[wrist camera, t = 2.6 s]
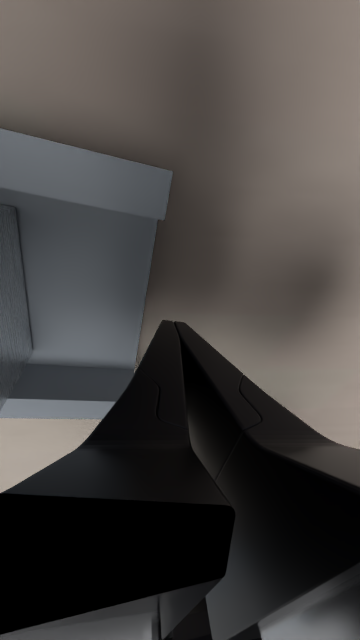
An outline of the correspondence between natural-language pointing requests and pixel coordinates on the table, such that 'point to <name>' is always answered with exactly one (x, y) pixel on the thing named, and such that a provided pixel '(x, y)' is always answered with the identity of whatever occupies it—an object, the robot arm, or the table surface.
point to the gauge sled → (12, 307)
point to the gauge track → (79, 270)
